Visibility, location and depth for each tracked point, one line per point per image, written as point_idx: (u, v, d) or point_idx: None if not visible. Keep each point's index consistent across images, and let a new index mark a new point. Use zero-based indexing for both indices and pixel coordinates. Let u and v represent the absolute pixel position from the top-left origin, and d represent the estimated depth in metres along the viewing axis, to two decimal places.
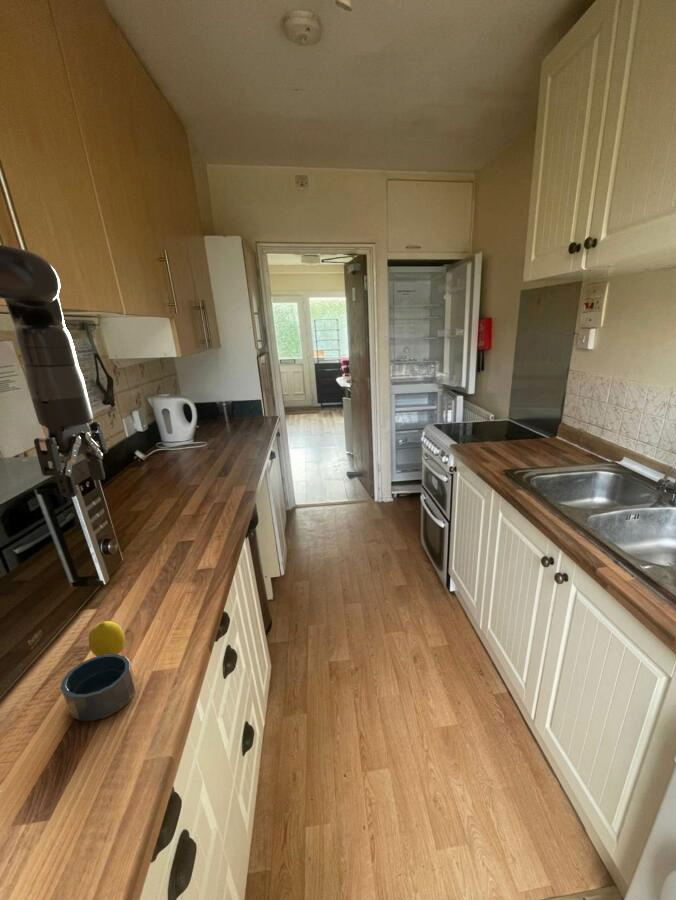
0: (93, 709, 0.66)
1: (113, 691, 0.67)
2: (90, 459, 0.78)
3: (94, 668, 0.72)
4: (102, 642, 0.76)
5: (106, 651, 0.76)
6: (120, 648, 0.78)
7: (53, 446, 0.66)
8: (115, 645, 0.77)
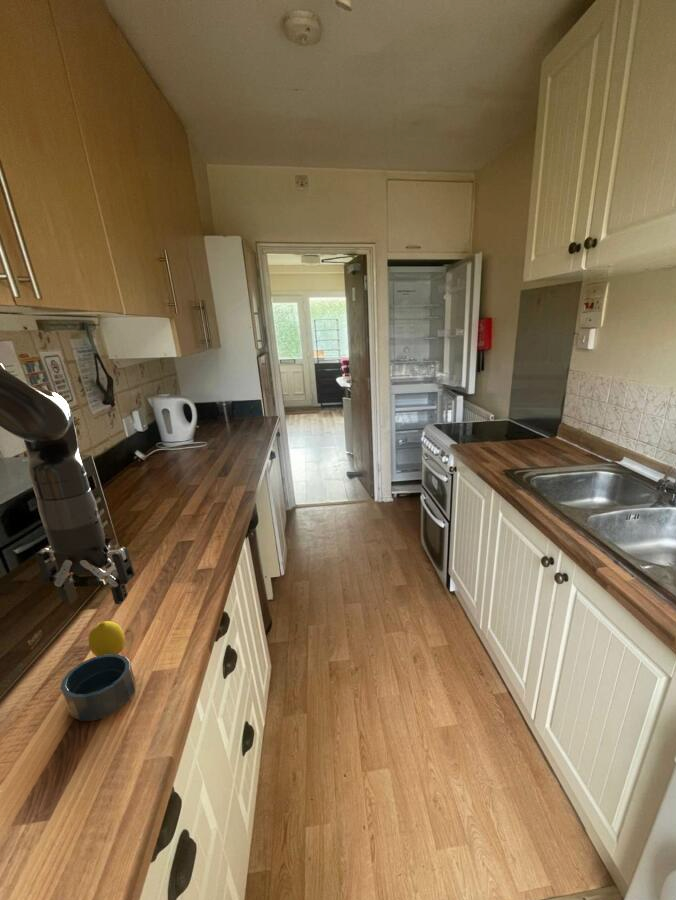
0: (93, 709, 0.66)
1: (113, 691, 0.67)
2: (65, 583, 0.73)
3: (94, 668, 0.72)
4: (102, 642, 0.76)
5: (106, 651, 0.76)
6: (120, 648, 0.78)
7: None
8: (115, 645, 0.77)
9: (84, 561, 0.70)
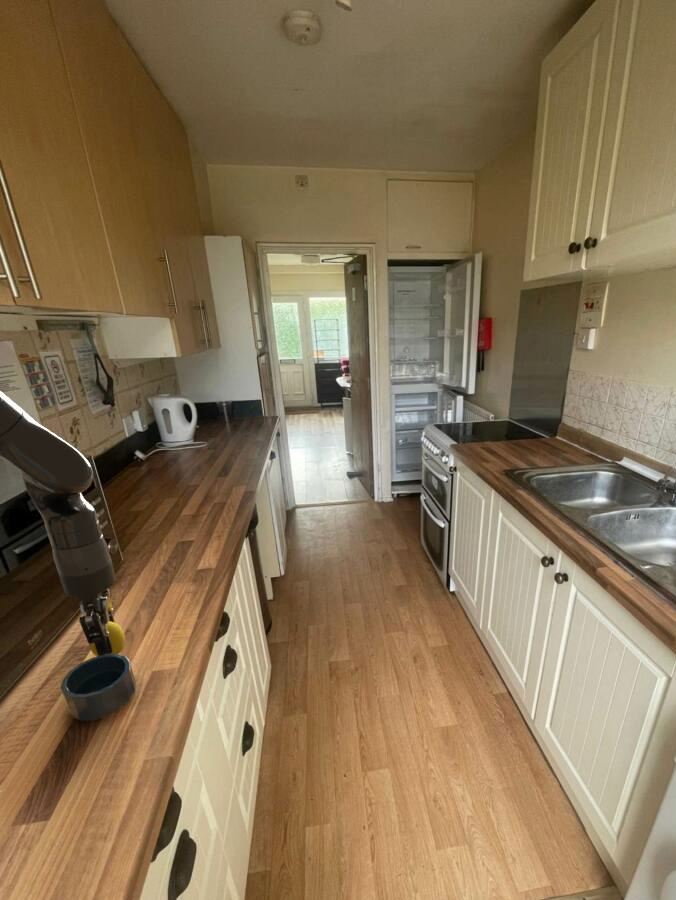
0: (93, 709, 0.66)
1: (113, 691, 0.67)
2: None
3: (94, 668, 0.72)
4: None
5: None
6: (120, 648, 0.78)
7: None
8: (115, 645, 0.77)
9: (108, 590, 0.77)
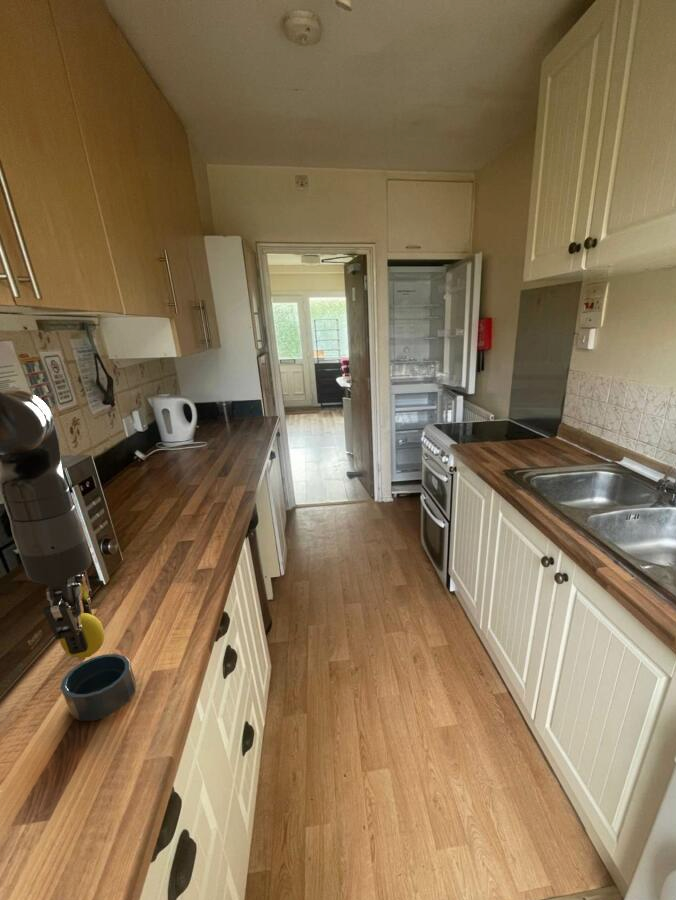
0: (93, 709, 0.66)
1: (113, 691, 0.67)
2: None
3: (94, 668, 0.72)
4: None
5: None
6: (98, 645, 0.65)
7: None
8: (92, 641, 0.64)
9: (83, 575, 0.64)
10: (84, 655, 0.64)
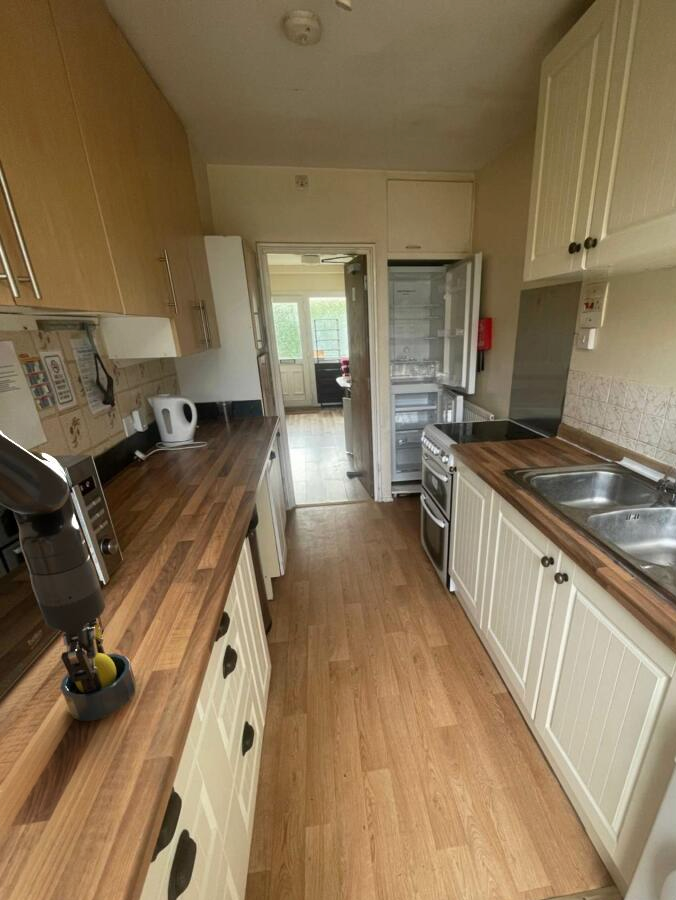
0: (93, 709, 0.66)
1: (113, 691, 0.67)
2: None
3: None
4: None
5: None
6: None
7: None
8: (105, 681, 0.68)
9: (97, 618, 0.67)
10: None
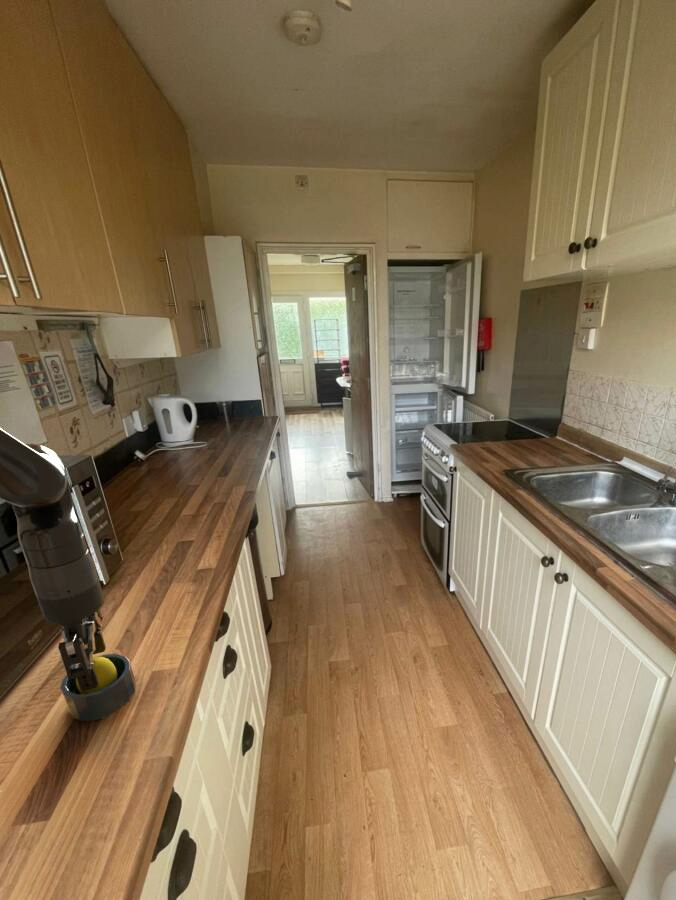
0: (93, 709, 0.66)
1: (113, 691, 0.67)
2: None
3: None
4: None
5: None
6: None
7: None
8: (106, 684, 0.68)
9: (95, 613, 0.67)
10: None
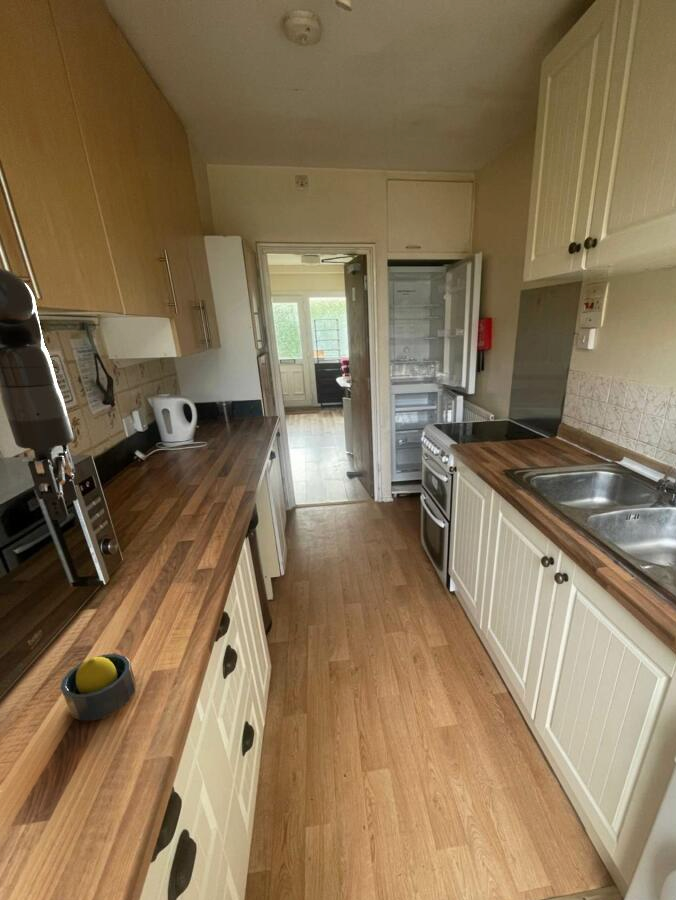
0: (93, 709, 0.66)
1: (113, 691, 0.67)
2: None
3: None
4: (91, 682, 0.66)
5: None
6: None
7: None
8: (106, 684, 0.68)
9: (66, 453, 0.71)
10: None
